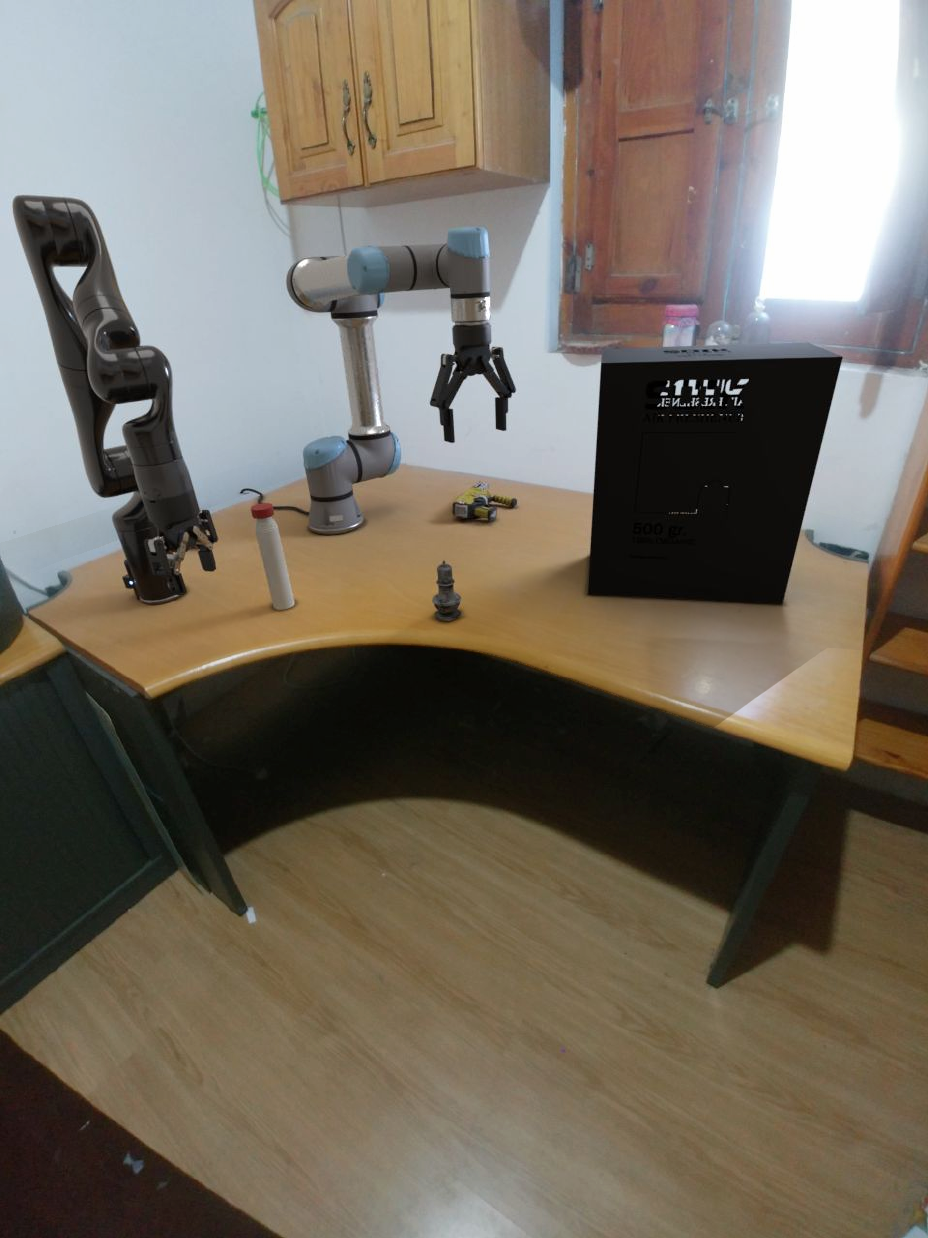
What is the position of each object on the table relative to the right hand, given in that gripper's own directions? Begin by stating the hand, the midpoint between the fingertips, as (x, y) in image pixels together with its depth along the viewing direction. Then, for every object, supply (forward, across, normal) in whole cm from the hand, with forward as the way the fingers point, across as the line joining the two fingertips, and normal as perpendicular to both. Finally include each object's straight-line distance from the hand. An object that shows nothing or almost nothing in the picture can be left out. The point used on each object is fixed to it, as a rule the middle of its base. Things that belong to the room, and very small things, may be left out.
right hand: (475, 435), depth 126 cm
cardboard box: (+30, +28, -34) cm, 53 cm away
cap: (+8, -43, +13) cm, 46 cm away
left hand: (+13, -61, -2) cm, 63 cm away
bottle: (+30, -43, +13) cm, 54 cm away
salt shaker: (+30, -19, -14) cm, 38 cm away
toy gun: (+30, +26, +29) cm, 49 cm away
